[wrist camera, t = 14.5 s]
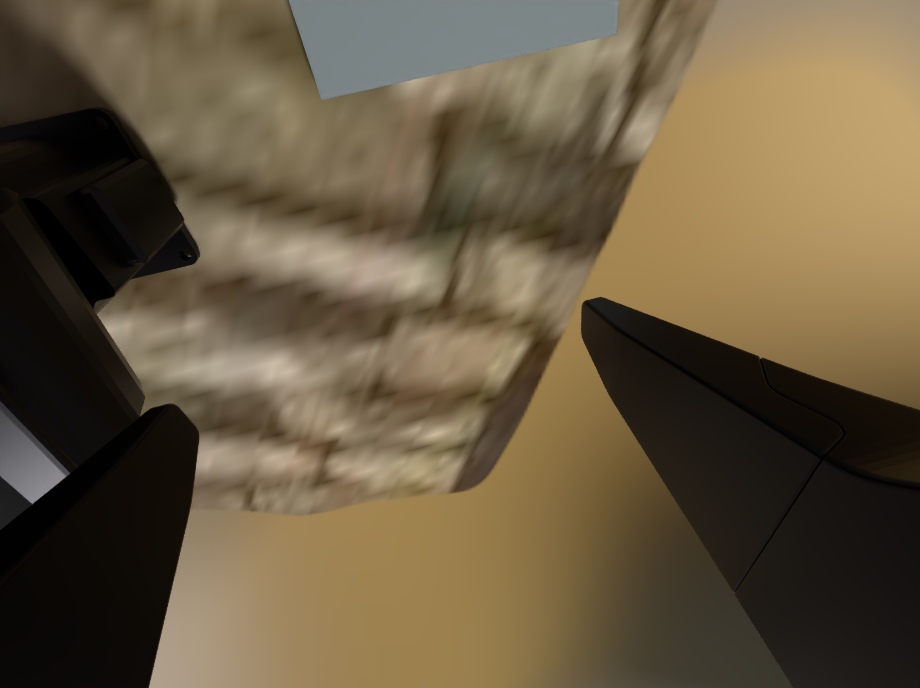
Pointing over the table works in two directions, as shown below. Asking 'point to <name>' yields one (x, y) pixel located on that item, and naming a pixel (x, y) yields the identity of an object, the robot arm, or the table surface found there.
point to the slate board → (435, 35)
